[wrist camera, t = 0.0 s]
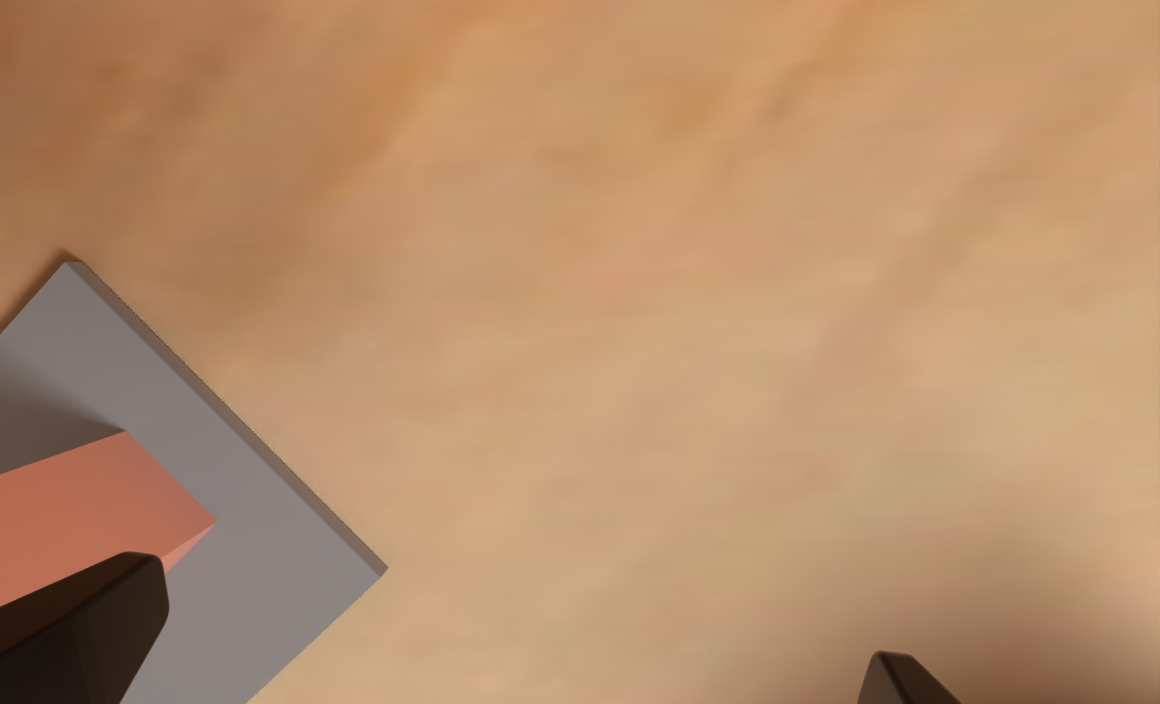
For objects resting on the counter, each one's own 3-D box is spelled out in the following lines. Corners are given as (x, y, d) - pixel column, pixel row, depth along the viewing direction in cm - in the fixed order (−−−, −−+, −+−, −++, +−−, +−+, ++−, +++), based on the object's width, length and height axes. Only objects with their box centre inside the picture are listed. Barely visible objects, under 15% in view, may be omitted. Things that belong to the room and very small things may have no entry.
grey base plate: (42, 890, 28) (-9, 945, 26) (-242, 624, 28) (-321, 657, 25) (388, 567, 26) (364, 598, 23) (82, 261, 25) (27, 262, 23)
